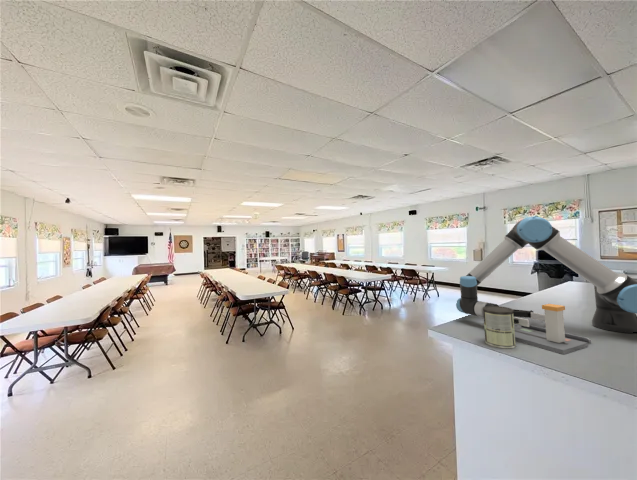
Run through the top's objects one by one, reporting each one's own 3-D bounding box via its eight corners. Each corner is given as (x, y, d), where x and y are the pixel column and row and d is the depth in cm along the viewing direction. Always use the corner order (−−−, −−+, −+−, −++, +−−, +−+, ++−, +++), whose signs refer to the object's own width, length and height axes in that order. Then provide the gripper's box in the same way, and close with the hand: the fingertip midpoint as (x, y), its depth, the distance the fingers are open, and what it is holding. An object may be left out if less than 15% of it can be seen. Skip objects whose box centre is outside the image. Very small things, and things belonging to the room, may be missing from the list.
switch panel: (491, 333, 116) (491, 330, 116) (514, 328, 121) (513, 325, 122) (563, 354, 91) (563, 350, 91) (587, 346, 97) (587, 342, 97)
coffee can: (479, 339, 109) (477, 306, 110) (505, 339, 108) (503, 305, 109) (493, 348, 99) (491, 311, 100) (522, 348, 98) (519, 311, 99)
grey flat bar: (521, 329, 120) (520, 324, 120) (527, 327, 122) (526, 323, 122) (587, 345, 99) (586, 339, 99) (593, 343, 100) (592, 337, 101)
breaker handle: (544, 339, 101) (541, 305, 102) (551, 337, 103) (549, 303, 104) (560, 343, 97) (557, 307, 97) (567, 341, 99) (564, 306, 99)
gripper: (505, 315, 128) (557, 326, 109) (470, 322, 119) (520, 335, 99) (504, 300, 129) (556, 308, 109) (469, 305, 120) (518, 315, 100)
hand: (539, 321), depth 104 cm, fingers open, 13 cm apart
